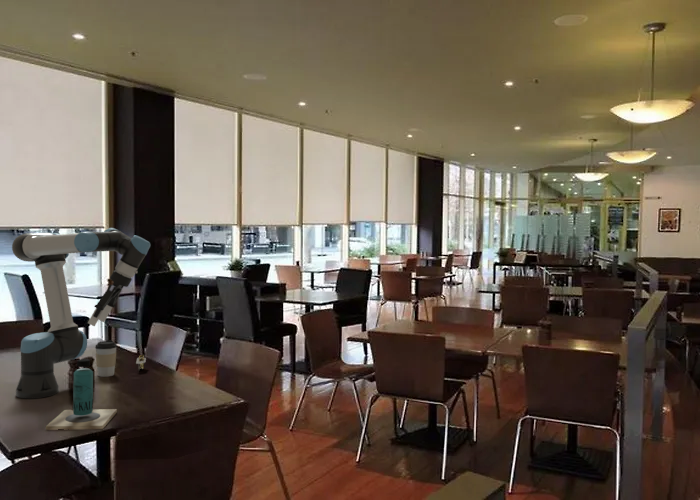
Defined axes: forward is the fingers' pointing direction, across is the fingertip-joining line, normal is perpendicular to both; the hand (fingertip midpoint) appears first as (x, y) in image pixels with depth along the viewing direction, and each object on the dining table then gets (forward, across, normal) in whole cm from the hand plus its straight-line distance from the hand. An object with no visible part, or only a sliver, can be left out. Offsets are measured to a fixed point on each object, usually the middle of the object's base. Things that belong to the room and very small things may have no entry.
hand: (96, 322), depth 236 cm
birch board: (+26, -25, -17) cm, 40 cm away
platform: (+22, +49, -20) cm, 57 cm away
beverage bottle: (+25, -25, -16) cm, 39 cm away
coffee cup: (+28, +40, -8) cm, 50 cm away
